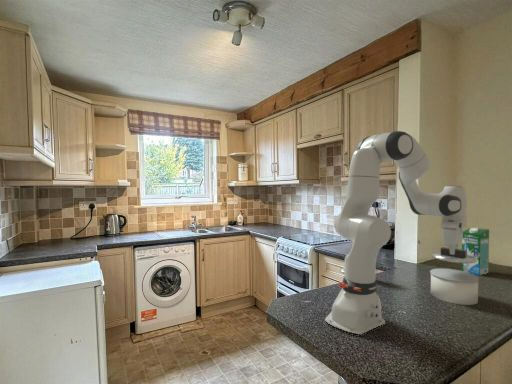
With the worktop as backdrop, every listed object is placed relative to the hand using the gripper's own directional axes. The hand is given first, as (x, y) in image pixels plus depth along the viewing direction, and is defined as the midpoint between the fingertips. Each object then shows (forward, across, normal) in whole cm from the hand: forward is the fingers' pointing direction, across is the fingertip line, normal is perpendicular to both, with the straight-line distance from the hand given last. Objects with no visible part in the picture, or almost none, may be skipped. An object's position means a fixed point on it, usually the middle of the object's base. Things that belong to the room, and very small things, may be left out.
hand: (453, 253), depth 121 cm
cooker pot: (+19, 0, 0) cm, 19 cm away
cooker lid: (+2, 0, 0) cm, 2 cm away
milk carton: (+20, -50, +1) cm, 54 cm away
